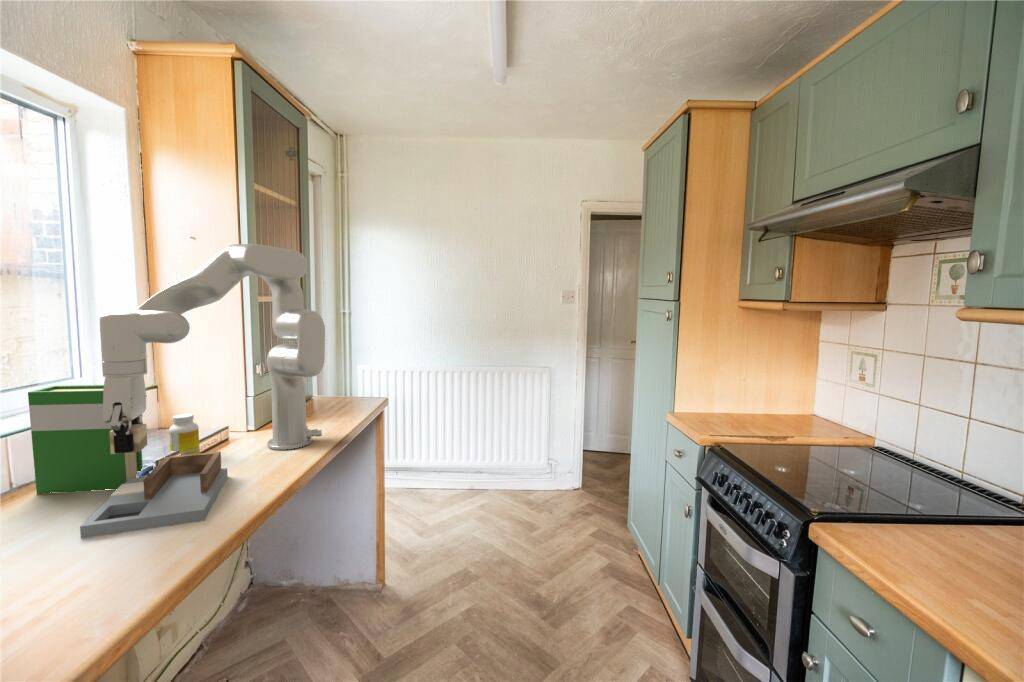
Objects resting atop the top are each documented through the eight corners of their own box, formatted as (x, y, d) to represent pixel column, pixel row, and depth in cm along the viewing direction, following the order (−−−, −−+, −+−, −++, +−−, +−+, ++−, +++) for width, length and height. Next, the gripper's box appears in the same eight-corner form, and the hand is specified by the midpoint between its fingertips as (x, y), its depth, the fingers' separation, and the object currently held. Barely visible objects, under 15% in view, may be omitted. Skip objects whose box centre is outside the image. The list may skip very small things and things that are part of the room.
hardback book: (143, 477, 114) (137, 384, 112) (124, 489, 107) (117, 390, 105) (61, 481, 111) (54, 385, 108) (36, 494, 104) (27, 392, 101)
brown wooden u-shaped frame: (221, 468, 115) (220, 451, 114) (207, 492, 101) (206, 473, 101) (167, 474, 110) (166, 456, 110) (144, 500, 97) (143, 480, 96)
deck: (227, 476, 116) (227, 466, 115) (204, 520, 93) (204, 507, 93) (130, 488, 108) (129, 476, 108) (80, 538, 86) (79, 524, 86)
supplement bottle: (205, 456, 129) (203, 413, 128) (187, 465, 123) (184, 419, 121) (184, 455, 130) (182, 412, 128) (164, 463, 123) (161, 418, 122)
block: (147, 444, 104) (146, 423, 104) (139, 451, 99) (138, 429, 99) (120, 446, 102) (119, 425, 102) (110, 454, 97) (109, 431, 97)
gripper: (120, 363, 105) (124, 438, 107) (84, 375, 90) (89, 463, 91) (159, 362, 108) (162, 435, 110) (131, 373, 93) (135, 459, 94)
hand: (129, 447), depth 101 cm, fingers closed on block, 4 cm apart
